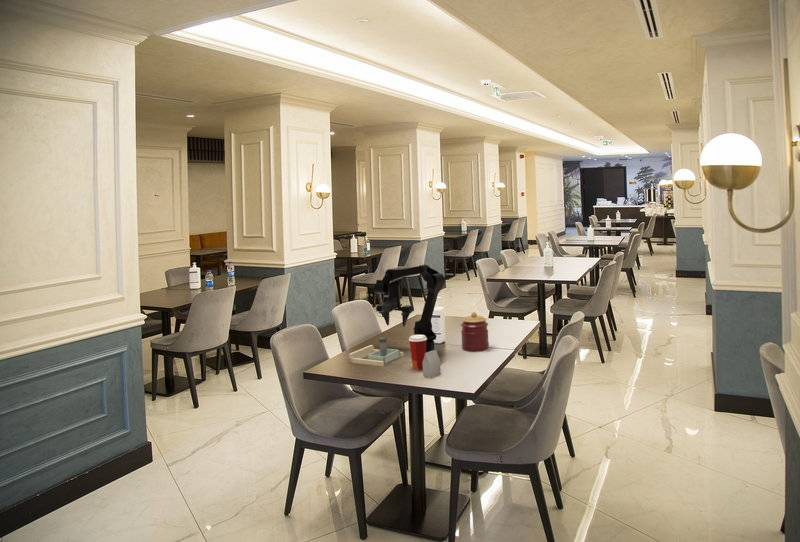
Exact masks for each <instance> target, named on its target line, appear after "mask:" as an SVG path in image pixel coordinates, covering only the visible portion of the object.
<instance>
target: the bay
mask: <svg viewBox="0 0 800 542" xmlns="http://www.w3.org/2000/svg"><path fill="white" fill-rule="evenodd" d="M378 350H379V349H378V348H377V349H376V348H375V346H374V344H370V345H367V346H365V347H362V348H360V349H358V350H355V351H353V352H351V353H350V352H349V353H348V362H349V363H350V364H359V365H367V366H376V367H384V366H385V365H384V361H377V360H368V359H367V355H369V354H371V353H373V352H376V351H378ZM404 353H405V352H404V351H400V358H403V357H404V355H405V354H404Z"/></svg>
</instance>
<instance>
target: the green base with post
mask: <svg viewBox="0 0 800 542" xmlns="http://www.w3.org/2000/svg"><path fill="white" fill-rule="evenodd" d="M378 341H379V349H378V351H376V352H373V353H371V354H369V355H367V356H366V359H368V360H377V361H384V366H385V365H387V364H389V363H391V362H394V361H395V360H397V359H400V358H401V357H400V352H401V351H400V349H393V348H388V345H387V341H388V337H387V336H380V337H378Z"/></svg>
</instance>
